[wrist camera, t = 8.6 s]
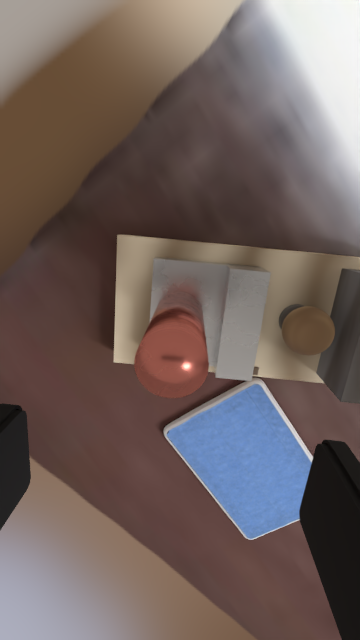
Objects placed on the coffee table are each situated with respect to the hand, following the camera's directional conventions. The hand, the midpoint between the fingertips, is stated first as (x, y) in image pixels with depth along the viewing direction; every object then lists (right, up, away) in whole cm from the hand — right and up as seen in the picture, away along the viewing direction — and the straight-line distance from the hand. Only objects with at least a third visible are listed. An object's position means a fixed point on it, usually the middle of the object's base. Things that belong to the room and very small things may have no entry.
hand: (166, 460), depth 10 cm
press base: (+6, +6, +20) cm, 21 cm away
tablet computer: (+9, -12, +26) cm, 30 cm away
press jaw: (+2, +5, +17) cm, 18 cm away
